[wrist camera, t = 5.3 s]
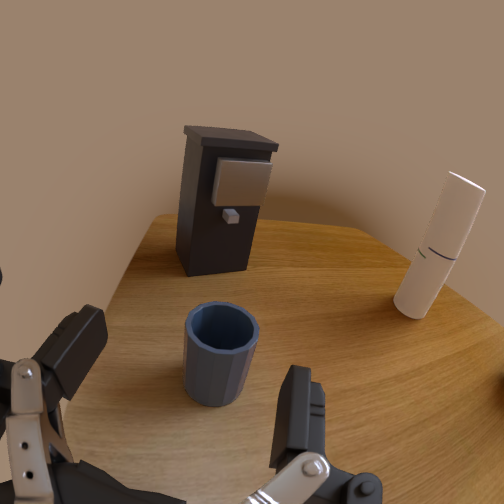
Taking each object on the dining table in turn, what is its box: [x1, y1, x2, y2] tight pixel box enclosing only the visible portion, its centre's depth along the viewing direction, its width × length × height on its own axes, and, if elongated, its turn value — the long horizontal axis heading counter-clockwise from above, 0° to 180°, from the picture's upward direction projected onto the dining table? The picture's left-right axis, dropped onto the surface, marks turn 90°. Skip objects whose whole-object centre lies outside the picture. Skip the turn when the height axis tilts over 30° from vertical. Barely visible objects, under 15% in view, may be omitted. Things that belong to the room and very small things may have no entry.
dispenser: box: [176, 126, 279, 277], centre depth 44 cm, size 11×11×21 cm
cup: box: [183, 301, 259, 407], centre depth 28 cm, size 6×6×9 cm
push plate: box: [211, 157, 273, 206], centre depth 38 cm, size 2×7×6 cm, turn 116°
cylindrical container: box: [393, 171, 486, 319], centre depth 43 cm, size 7×7×25 cm
